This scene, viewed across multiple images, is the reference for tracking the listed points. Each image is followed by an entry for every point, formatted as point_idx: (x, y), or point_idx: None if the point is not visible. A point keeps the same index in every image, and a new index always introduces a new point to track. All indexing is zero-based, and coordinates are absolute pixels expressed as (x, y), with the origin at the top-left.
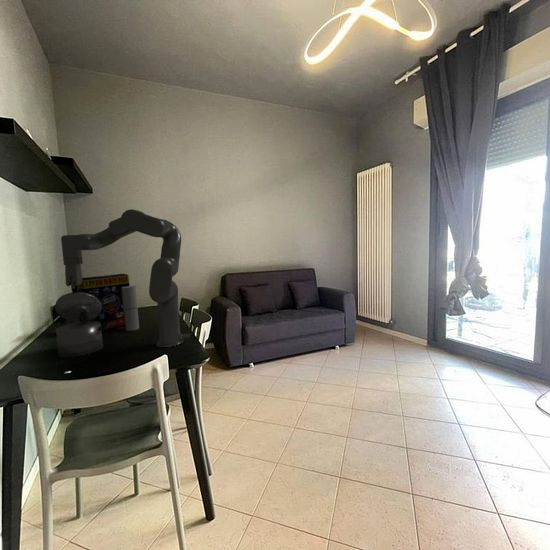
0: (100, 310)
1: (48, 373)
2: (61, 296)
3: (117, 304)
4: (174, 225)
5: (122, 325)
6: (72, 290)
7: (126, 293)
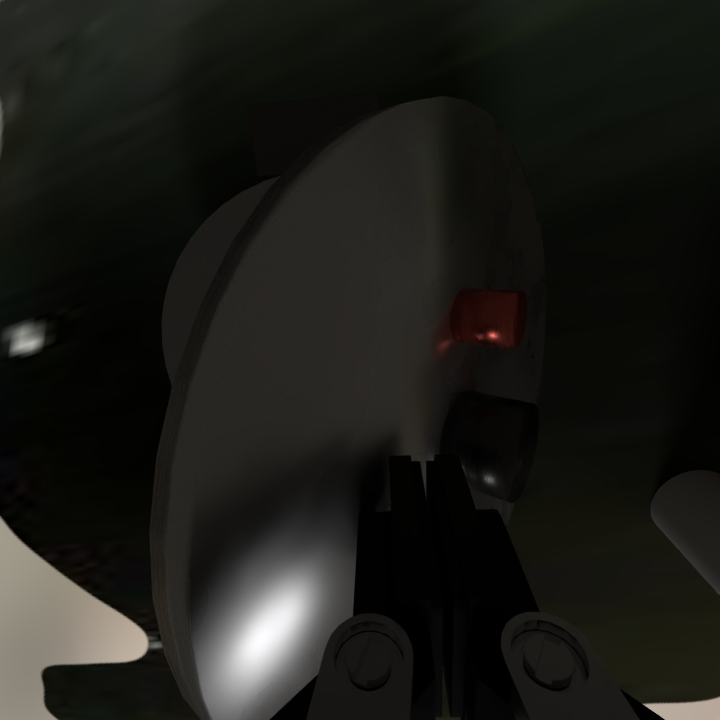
0: None
1: (18, 249)
2: (231, 332)
3: None
4: None
5: None
6: (316, 691)
7: None
